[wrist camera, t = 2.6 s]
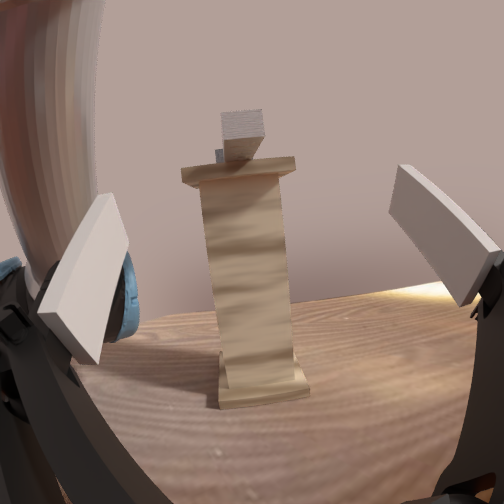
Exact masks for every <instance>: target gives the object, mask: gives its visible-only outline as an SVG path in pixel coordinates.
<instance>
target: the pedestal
mask: <svg viewBox="0 0 504 504" xmlns="http://www.w3.org/2000/svg"><path fill="white" fill-rule="evenodd" d="M295 170H296V166H295V158H294V156H293V157H279V158H266V159H253V160H243V161H233V162H224V163H216V164H208V165H200V166H193V167H187V168H181V174H182V182H183V183H185V184H187V185H189V186H192V187H193V188H196V189H198V188H199V189H200V198H201V207H202V215H203V224H204V231H205V239H206V247H207V255H208V262H209V269H210V276H211V282H212V289H213V295H214V302H215V309H216V315H217V322H218V328H219V334H220V340H221V345H222V351H220V354H219V396H218V402H219V406H220V410H221V409H232V408H241V407H249V406H257V405H264V404H271V403H277V402H283V401H289V400H294V399H300V398H305V397H310V387H309V385H308V383H307V380H306V378H305V376H304V374H303V372H302V369H301V367H300V365H299V363H298V361H297V358H296V356H295V354H294V352H293V338H292V322H291V308H290V295H289V283H288V270H287V258H286V248H285V236H284V225H283V215H282V205H281V195H280V186H279V178H280V177H282V176H284V175H286V174H289V173H291V172H293V171H295Z"/></svg>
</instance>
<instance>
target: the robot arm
mask: <svg viewBox="0 0 504 504" xmlns="http://www.w3.org/2000/svg"><path fill="white" fill-rule="evenodd" d="M104 5H105V0H0V188H1V192H2V195H3V198H4V201H5V204H6V207H7V210H8V213H9V216H10V219H11V221H12V223H13V226H14V229H15V232H16V234H17V237H18V239H19V242H20V244H21V246H22V249H23V251H24V253H25V256H26V258H27V262H26V266H24V267H22V263H21V261H20V259H19V258H18V257H13V258H10V259H8V260H5V261H3V262H0V504H66V503H65V501H64V498H63V496H62V493H61V490H60V488H59V485H58V482H57V479H58V481H59V482H60V484H61V486H62V488H63V489H64V491H65V492H66V494H67V496H68V497H69V499H70V500H71V502H72V503H73V504H173V503H172V502H171V501H170V500H169V499H168V498H167V497H166V496H165V495H164V494H163V493H162V492H161V490H160V489H159V488H158V487H157V486H156V485H155V484H154V483H153V482H152V481H151V479H150V478H149V477H148V476H147V475H146V474H145V473H144V471H143V470H142V469H141V468H140V467H139V465H138V464H137V463H136V462H135V461H134V459H133V458H132V457H131V456H130V454H129V453H128V452H127V450H126V449H125V448H124V446H123V445H122V444H121V442H120V441H119V440H118V438H117V437H116V436H115V434H114V433H113V431H112V430H111V429H110V427H109V426H108V424H107V423H106V421H105V420H104V418H103V417H102V415H101V414H100V412H99V411H98V409H97V407H96V406H95V404H94V403H93V401H92V399H91V398H90V396H89V395H88V393H87V391H86V389H85V388H84V386H83V384H82V382H81V381H80V379H79V377H78V375H77V373H76V372H75V370H74V369H73V367H72V366H71V365H70V361H71V357H72V356H73V357H74V358H75V359H76V360H77V362H78V363H79V364H81V365H98V364H99V359H100V354H101V349H102V344H103V343H108V342H109V343H115V342H116V341H118V340H120V339H123V338H126V337H130V336H132V335H133V334H134V333H135V332H136V331H137V329H138V326H139V314H140V313H139V302H138V299H137V296H138V293H137V284H136V278H135V273H134V268H133V264H132V261H131V258H130V255H129V253H128V251H127V248H128V245H129V239H128V237H127V234H126V231H125V228H124V226H123V223H122V220H121V217H120V214H119V211H118V208H117V205H116V202H115V198H114V195H113V193H112V192H111V193H107V194H102V195H98V191H97V178H96V163H95V141H94V140H95V139H94V138H95V137H94V106H95V81H96V66H97V55H98V45H99V37H100V30H101V23H102V17H103V11H104ZM389 214H390V215H391V216H392V217H393V218H394V220H395V221H396V222H397V223H398V224H399V225H400V227H401V228H402V229H403V230H404V232H405V233H406V234H407V235H408V236H409V238H410V239H411V240H412V242H413V243H414V244H415V246H416V247H417V248H418V249H419V251H420V252H421V253H422V255H423V256H424V257H425V259H426V260H427V261H428V263H429V264H430V265H431V267H432V268H433V269H434V271H435V272H436V274H437V275H438V276H439V278H440V279H441V281H442V282H443V284H444V285H445V287H446V288H447V289H448V291H449V292H450V294H451V295H452V297H453V298H454V300H455V301H456V303H457V305H458V306H459V308H460V307H462V306H465V305H468V304H471V303H472V302H473V300H474V298H475V297H476V295H477V293H478V292H479V294H480V295H481V297H482V298H481V299H480V301H479V303H478V304H477V306H476V307H475V309H474V310H473V312H472V313H471V316H470V318H473V316H474V315H475V313H478V315H477V317H476V318H475V320H477V321H478V325H477V341H476V352H475V361H474V369H473V377H472V383H471V389H470V395H469V400H468V405H467V410H466V415H465V419H464V423H463V427H462V431H461V435H460V439H459V442H458V446H457V449H456V452H455V455H454V458H453V460H452V461H451V463H450V464H449V465H448V466H447V467H446V469H445V470H444V471H443V473H442V474H441V476H440V478H439V480H438V482H437V485H436V487H435V489H434V492H433V494H432V496H431V497H429V498H424V499H418V500H412V501H406V502H403V503H401V504H504V252H503V251H502V250H501V249H500V248H499V246H498V245H497V244H496V243H495V242H494V241H493V240H492V239H491V238H490V237H489V236H488V234H486V233H485V231H484V230H483V229H482V228H480V226H479V225H478V224H477V223H476V222H475V221H474V220H473V219H472V218H470V217H469V216H468V215H467V214H466V213H465V212H464V211H463V210H462V209H461V208H460V207H459V206H458V205H457V204H456V203H455V202H454V201H453V200H451V199H450V198H449V197H448V196H447V195H446V194H445V193H444V192H442V191H441V190H440V189H439V188H438V187H437V186H436V185H434V184H433V183H432V182H431V181H430V180H428V179H427V178H426V177H425V176H424V175H422V174H421V173H420V172H419V171H418V170H416V169H415V168H414V167H412V166H411V165H398V169H397V174H396V180H395V185H394V190H393V195H392V200H391V205H390V209H389ZM55 475H56V476H55ZM56 477H57V479H56ZM490 488H494V489H493V493H492V496H491V498H490V501H489V503H487V502H485V501H483V500H481V499H479V498H476V497H474V496H475V495H476V494H477V493H479V492H480V491H484V490H487V489H490Z"/></svg>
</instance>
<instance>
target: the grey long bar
mask: <svg viewBox="0 0 504 504" xmlns="http://www.w3.org/2000/svg"><path fill="white" fill-rule="evenodd" d="M221 125H222V142H223V149H218V150H215V154H216V162H217V163H224V162H233V161H243V160H253V156H254V154H255V153H256V151H257V149H258V147H259V146H260V144H261V142H262V141H263V139H264V137H265V132H264V124H263V116H262V109H258V110H244V111H233V112H223V113H221Z"/></svg>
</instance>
